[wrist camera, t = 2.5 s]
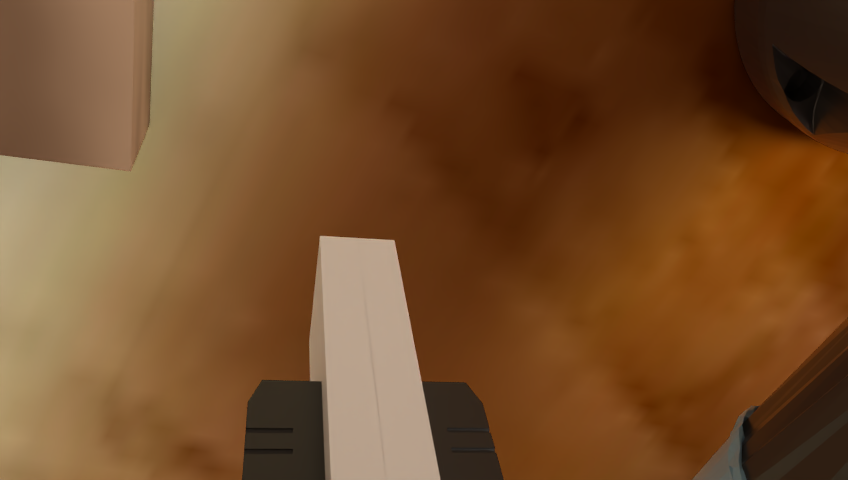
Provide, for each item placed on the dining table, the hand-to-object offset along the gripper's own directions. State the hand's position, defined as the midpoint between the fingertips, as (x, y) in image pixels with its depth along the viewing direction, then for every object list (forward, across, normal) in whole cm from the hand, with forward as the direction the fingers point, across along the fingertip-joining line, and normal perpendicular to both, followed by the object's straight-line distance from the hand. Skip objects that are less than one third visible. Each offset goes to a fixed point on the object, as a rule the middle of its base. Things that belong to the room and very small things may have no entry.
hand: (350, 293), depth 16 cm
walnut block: (+15, +10, 0) cm, 18 cm away
